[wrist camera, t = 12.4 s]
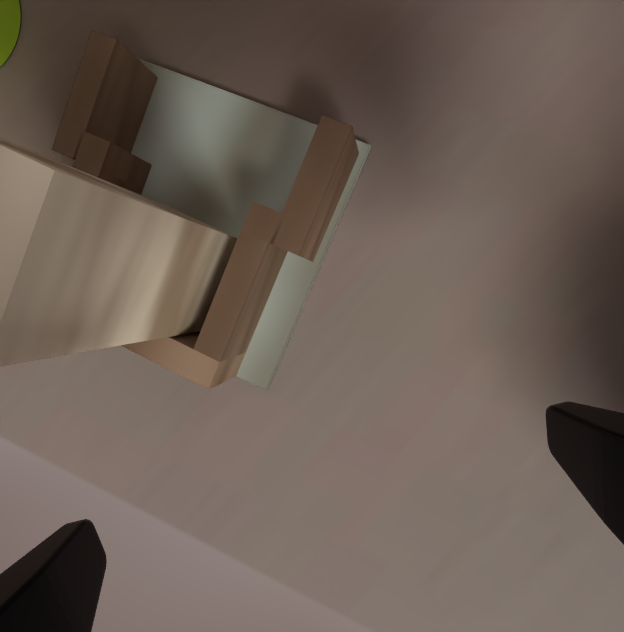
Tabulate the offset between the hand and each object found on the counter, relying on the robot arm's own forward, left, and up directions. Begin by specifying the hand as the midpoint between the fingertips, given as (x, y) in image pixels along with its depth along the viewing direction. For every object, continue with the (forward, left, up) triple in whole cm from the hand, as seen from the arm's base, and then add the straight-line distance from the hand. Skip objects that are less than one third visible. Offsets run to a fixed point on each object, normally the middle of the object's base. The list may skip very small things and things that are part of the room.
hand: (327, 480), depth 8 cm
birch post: (+10, -1, -11) cm, 14 cm away
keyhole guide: (+10, -4, -11) cm, 15 cm away
